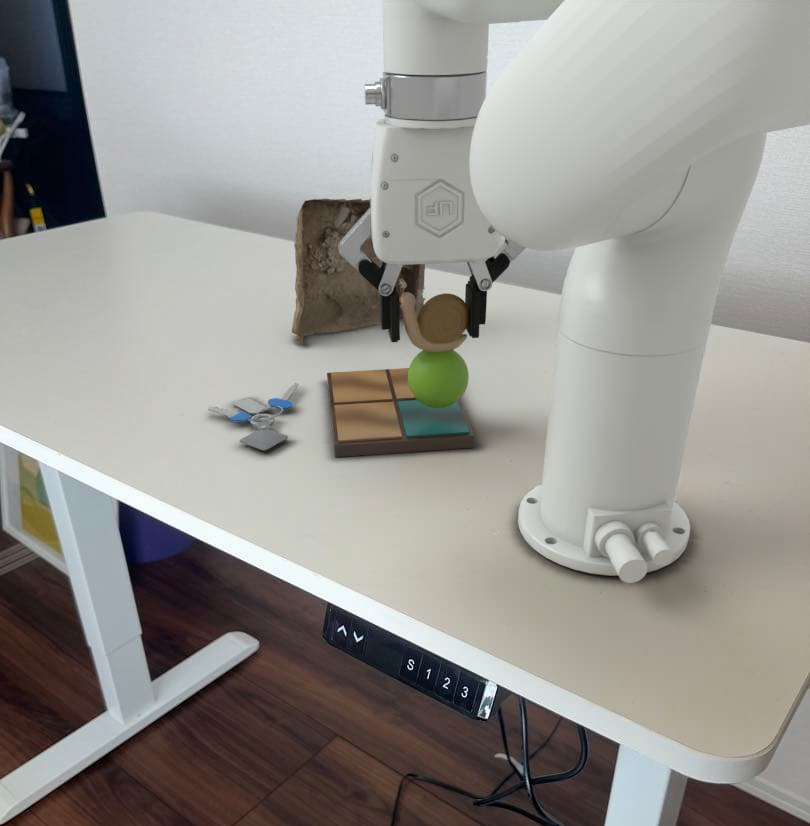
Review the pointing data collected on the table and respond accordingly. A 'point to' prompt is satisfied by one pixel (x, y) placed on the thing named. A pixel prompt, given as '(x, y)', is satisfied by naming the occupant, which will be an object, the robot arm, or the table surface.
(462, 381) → the snail figurine
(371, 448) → the game board
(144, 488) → the table surface
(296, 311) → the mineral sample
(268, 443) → the key chain
